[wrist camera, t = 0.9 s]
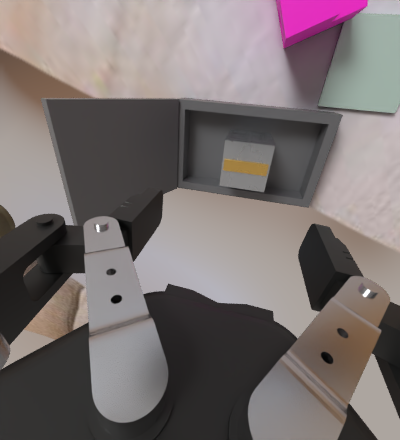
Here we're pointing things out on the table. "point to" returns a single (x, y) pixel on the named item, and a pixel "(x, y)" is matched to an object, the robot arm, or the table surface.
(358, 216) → the table surface
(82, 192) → the case
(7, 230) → the planter bowl
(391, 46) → the mat
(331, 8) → the toy block
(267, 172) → the block
